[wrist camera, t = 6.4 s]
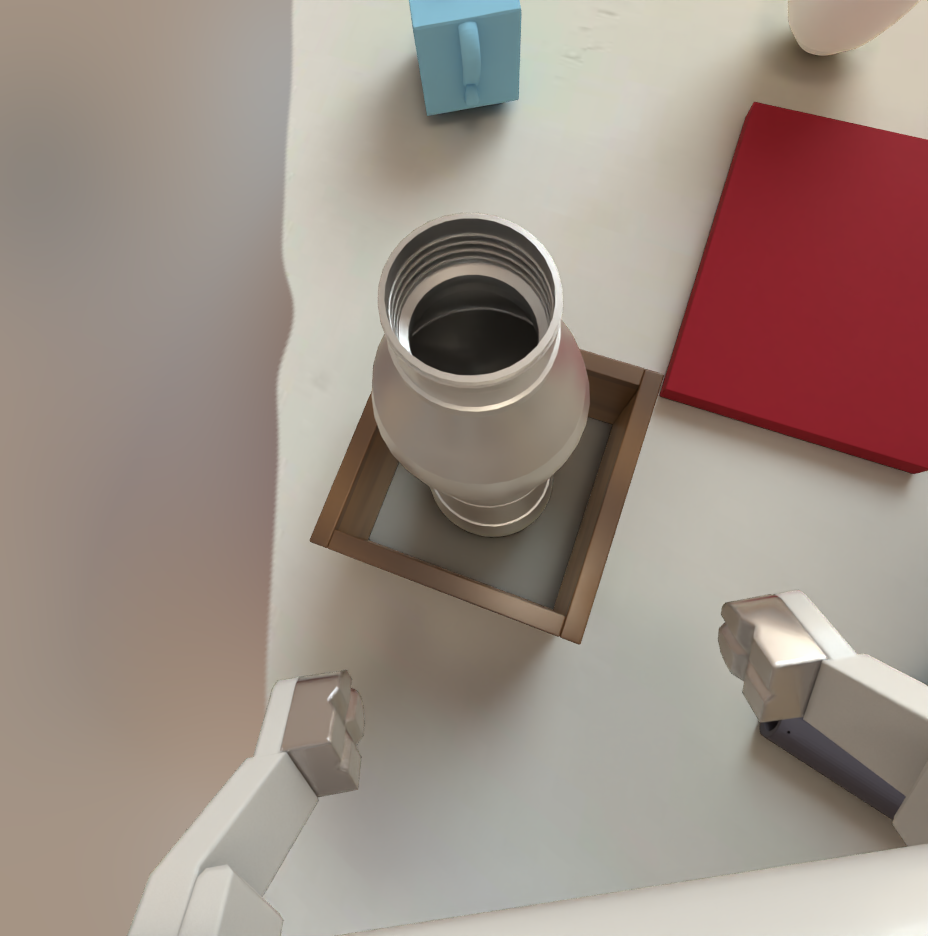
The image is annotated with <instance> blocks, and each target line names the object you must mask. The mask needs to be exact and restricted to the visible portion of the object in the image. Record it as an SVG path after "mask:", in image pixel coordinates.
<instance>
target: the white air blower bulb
mask: <svg viewBox="0 0 928 936" xmlns="http://www.w3.org/2000/svg"><path fill="white" fill-rule="evenodd" d="M919 1H920V0H788V22H789V26H790V29H791V31H792V33H793V35H794V36H795V38H796V41H797V43H798V44H799V46H800V47H801V48H802V49H803V50H805V51H806V52H808V53H811V54H814V55H823V56H826V55H833V54H837V53H839V52H845V51H849V50H853V49H856V48H858V47H860V46H862V45H864V44H866V43H868V42H869V41H871V40H872V39H874V38H875V37H877V36H878V35H880V34H881V33H883V32H884V31H885V30H887V29H888V28H889V27H891V26H892V25H893V24H895V23H896V22H897V21H898V20H900V19H901V18H902V17H903V16H904V15H905V14H907V13H908V12H909V11H910V10H911V9H912V8H913V7H914V6H915V5H916V4H917V3H918V2H919Z"/></svg>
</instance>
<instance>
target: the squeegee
mask: <svg viewBox="0 0 928 936" xmlns="http://www.w3.org/2000/svg"><path fill="white" fill-rule="evenodd" d="M803 718H804V717H798V718H791V719H784V720H777V721H769V722H762V723H760V732H761V734H762V735H763V736H764V737H766V738H767V739H769V740H770V741H772V742H773V743H775V744H776V745H778V746H779V747H781V748H783V749H784V750H786V751H787V752H789V753H790V754H792V755H793V756H795V757H797V758H798V759H800V760H801V761H803V762H804V763H806V764H807V765H809V766H810V767H812V768H814V769H815V770H817V771H818V772H820V773H821V774H823V775H824V776H826V777H827V778H829V779H831V780H832V781H834V782H835V783H837V784H838V785H840V786H841V787H843V788H844V789H846V790H848V791H849V792H851V793H852V794H854V795H855V796H857V797H858V798H860V799H861V800H863V801H865V802H866V803H868V804H869V805H871V806H872V807H874V808H875V809H877V810H878V811H880V812H882V813H883V814H885V815H886V816H888V817H889V818H891V819H892V820H894V816H895V814H896V812H897V811H898V809H899V807H900V806H901V804H902V802H903V801H904V799H905V797H906V796H905V795H903V794H902V793H901V792H899V791H898V790H897V789H895V788H894V787H893V786H891V785H890V784H889V783H887V782H886V781H885V780H883V779H882V778H881V777H879V776H878V775H877V774H875V773H874V772H873V771H871V770H870V769H869V768H867V767H866V766H865V765H863V764H862V763H861V762H859V761H858V760H857V759H855V758H854V757H853V756H852V755H850V754H849V753H848V752H846V751H845V750H844V749H842V748H841V747H840V746H838V745H837V744H836V743H834V742H833V741H832V740H830V739H829V738H828V737H826V736H825V735H824V734H822V733H821V732H820V731H818V730H817V729H816V728H814V727H813V726H812V725H810V724H809V723H808V722H806V721H805V720H804V719H803Z"/></svg>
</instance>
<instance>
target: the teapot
mask: <svg viewBox="0 0 928 936" xmlns="http://www.w3.org/2000/svg"><path fill="white" fill-rule="evenodd" d="M409 4H410V11H411V19H412V26H413V33H414V39H415V45H416V51H417V57H418V63H419V69H420V75H421V81H422V87H423V93H424V99H425V106H426V112H427V116H429V115H435V114H441V113H442V114H443V113H448V112H452V111H458V110H463V109H469V108H475V107H480V106H486V105H492V104H500V103H503V102H509V101H514V100H518V98H519V68H520V37H521V7H520V1H519V0H409Z"/></svg>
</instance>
